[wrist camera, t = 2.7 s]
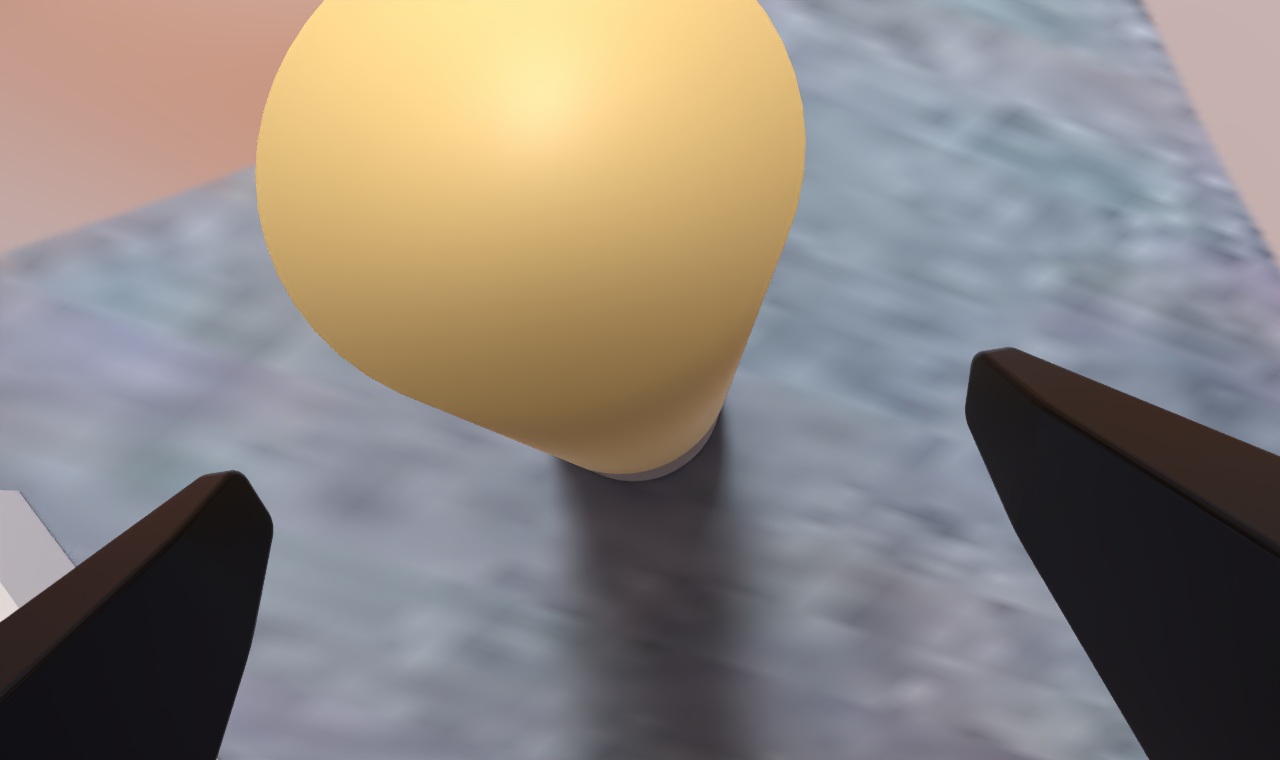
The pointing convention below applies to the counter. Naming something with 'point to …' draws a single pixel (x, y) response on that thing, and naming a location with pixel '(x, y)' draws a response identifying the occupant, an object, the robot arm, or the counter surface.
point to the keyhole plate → (25, 554)
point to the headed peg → (538, 208)
